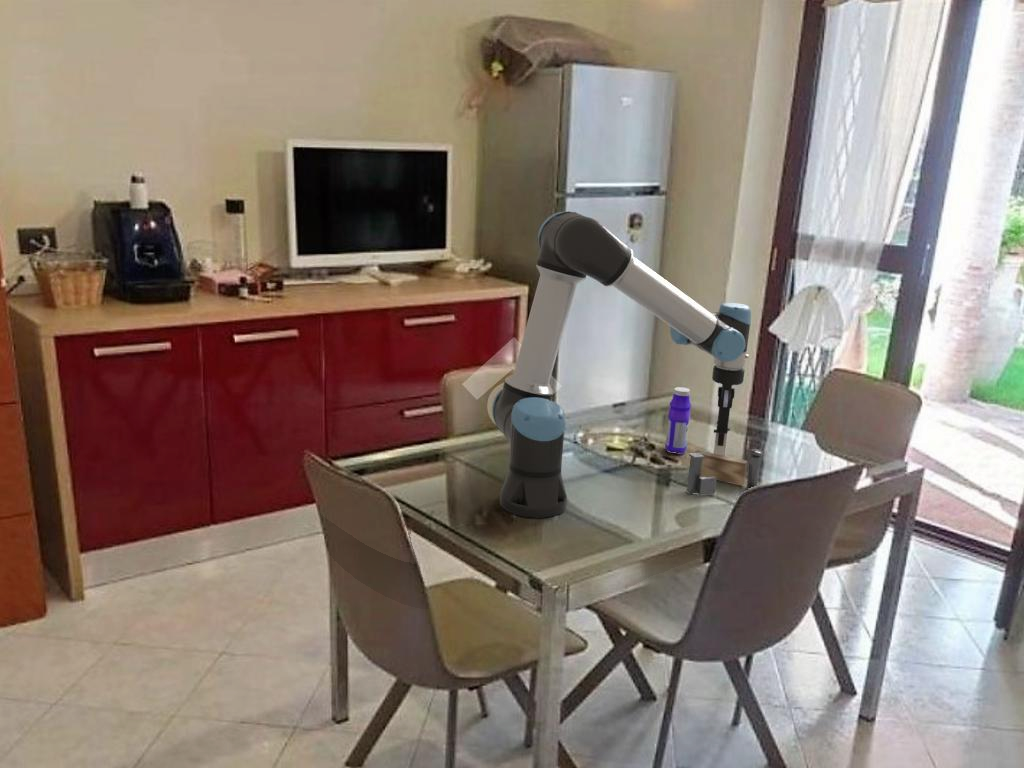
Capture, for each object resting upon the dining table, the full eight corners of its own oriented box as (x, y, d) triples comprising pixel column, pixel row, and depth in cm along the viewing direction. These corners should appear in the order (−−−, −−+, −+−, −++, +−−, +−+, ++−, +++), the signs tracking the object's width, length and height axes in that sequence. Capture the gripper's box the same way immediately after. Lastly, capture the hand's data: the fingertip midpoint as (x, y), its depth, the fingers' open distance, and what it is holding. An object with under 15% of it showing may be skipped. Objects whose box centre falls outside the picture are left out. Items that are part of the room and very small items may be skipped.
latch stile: (692, 497, 210) (697, 459, 207) (684, 490, 213) (689, 453, 211) (714, 495, 211) (719, 457, 209) (706, 489, 215) (711, 451, 212)
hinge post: (749, 491, 215) (754, 454, 212) (742, 486, 218) (747, 449, 215) (760, 490, 216) (765, 453, 213) (753, 485, 219) (758, 448, 216)
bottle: (685, 456, 236) (693, 393, 231) (664, 454, 237) (670, 391, 232) (686, 447, 243) (693, 386, 238) (665, 445, 244) (671, 384, 239)
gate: (744, 482, 219) (747, 460, 217) (742, 486, 217) (745, 463, 215) (694, 471, 224) (697, 449, 223) (691, 474, 222) (694, 452, 221)
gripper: (745, 374, 212) (734, 467, 219) (744, 361, 224) (734, 449, 231) (713, 371, 214) (702, 463, 220) (714, 358, 226) (704, 445, 233)
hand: (718, 456), depth 226 cm, fingers closed
